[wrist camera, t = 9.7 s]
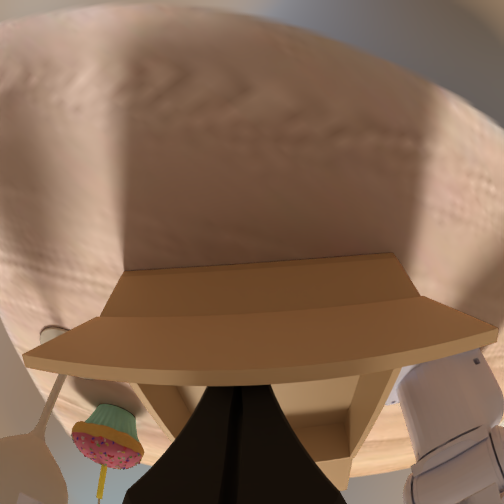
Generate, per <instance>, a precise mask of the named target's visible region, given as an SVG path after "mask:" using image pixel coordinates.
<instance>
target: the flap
mask: <svg viewBox="0 0 504 504" xmlns="http://www.w3.org/2000/svg"><path fill="white" fill-rule="evenodd" d="M498 330H499V328H497V327H495V326H493V325H490V324H488V323H486V322H484V321H481V320H479V319H477V318H474V317H472V316H470V315H467V314H465V313H463V312H460V311H458V310H456V309H453V308H451V307H448V306H446V305H444V304H441V303H439V302H437V301H434V300H432V299H429V298H427V297H425V296H420V297H413V298H405V299H398V300H390V301H383V302H374V303H366V304H357V305H348V306H339V307H329V308H318V309H307V310H295V311H282V312H267V313H252V314H233V315H211V316H180V317H95V318H93V319H91V320H89V321H87V322H85V323H83V324H81V325H79V326H77V327H75V328H73V329H71V330H69V331H67V332H65V333H63V334H61V335H59V336H57V337H55V338H53V339H51V340H50V341H48V342H46V343H44V344H42V345H40V346H38V347H36V348H34V349H32V350H30V351H28V352H26V353H24V354H22V356H23V360H24V364H25V367H27V368H32V369H37V370H42V371H47V372H52V373H58V374H64V375H70V376H77V377H84V378H91V379H99V380H107V381H117V382H127V383H139V384H154V385H174V386H248V385H269V384H284V383H296V382H307V381H316V380H325V379H333V378H341V377H348V376H355V375H362V374H368V373H374V372H380V371H385V370H390V369H396V368H401V367H406V366H410V365H415V364H419V363H424V362H428V361H432V360H436V359H440V358H444V357H448V356H452V355H455V354H459V353H463V352H466V351H470V350H473V349H476V348H480V347H483V346H486V345H489V344H492V343H495V342H497V337H498Z"/></svg>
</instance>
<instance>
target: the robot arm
mask: <svg viewBox="0 0 504 504" xmlns="http://www.w3.org/2000/svg"><path fill="white" fill-rule="evenodd" d="M396 403H400V406H401V409H402V412H403V416H404V419H405V422H406V426H407V429H408V432H409V436H410V439H411V443H412V447H413V450H414V454H415V458H416V462H417V463H416V464H414V465H412V466H411V470H412V473H411V474H410V475H409V476H408V478H407V480H406V483H405V486H404V490H403V502H404V504H504V427H501V426H498V424H499V423H500V421H501V419H502V416H503V412H504V399H503V394H502V391H501V389H500V386H499V384H498V382H497V380H496V379H495V377H494V375H493V373H492V371H491V369H490V367H489V365H488V363H487V362H486V360H485V358H484V356H483V354H482V353H481V351H480V348H476V349H473V350H470V351H466V352H463V353H459V354H455V355H452V356H448V357H444V358H440V359H436V360H432V361H428V362H424V363H419V364H415V365H410V366H406V367H402V369H401V371H400V373H399V375H398V378H397V380H396V382H395V384H394V386H393V388H392V390H391V392H390V395H389V397H388V399H387V401H386V403H385V405H391V404H396ZM17 504H44V503H42V502H40V501H38V500H36V499H34V498H31V497H29V496H27V495H25V494H23V493H22V492H20V493H19V496H18V500H17ZM122 504H347V503H346V502H345V500H344V498H343V496H342V495H341V493H340V491H339V490H338V489H337V488H336V487H335V486H334V485H333V483H332V482H331V481H330V480H329V479H328V478H327V477H326V475H325V474H324V473H323V472H322V471H321V469H320V468H319V467H318V466H317V464H316V463H315V462H314V460H313V459H312V458H311V456H310V455H309V453H308V452H307V451H306V449H305V448H304V446H303V445H302V443H301V442H300V440H299V439H298V437H297V436H296V434H295V432H294V431H293V429H292V427H291V426H290V424H289V422H288V420H287V418H286V417H285V415H284V413H283V411H282V409H281V407H280V405H279V403H278V401H277V398H276V396H275V394H274V391H273V389H272V386H271V384H269V385H248V386H207V387H206V389H205V391H204V393H203V395H202V397H201V399H200V401H199V402H198V404H197V406H196V408H195V410H194V412H193V413H192V415H191V417H190V418H189V420H188V421H187V423H186V425H185V426H184V428H183V429H182V431H181V432H180V433H179V435H178V436H177V437H176V439H175V440H174V441H173V443H172V444H171V445H170V447H169V448H168V449H167V450H166V452H165V453H164V454H163V455H162V456H161V457H160V459H159V460H158V461H157V462H156V463H155V464H154V465H153V466H152V467H151V469H149V470H148V472H146V473H145V474H144V475H143V476H142V477H141V478H140V479H139V480H138V481H137V482H136V483H135V484H133V485H132V486H131V487H130V488H129V489H128V490H127V492H126V494H125V497H124V500H123V503H122Z"/></svg>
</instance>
